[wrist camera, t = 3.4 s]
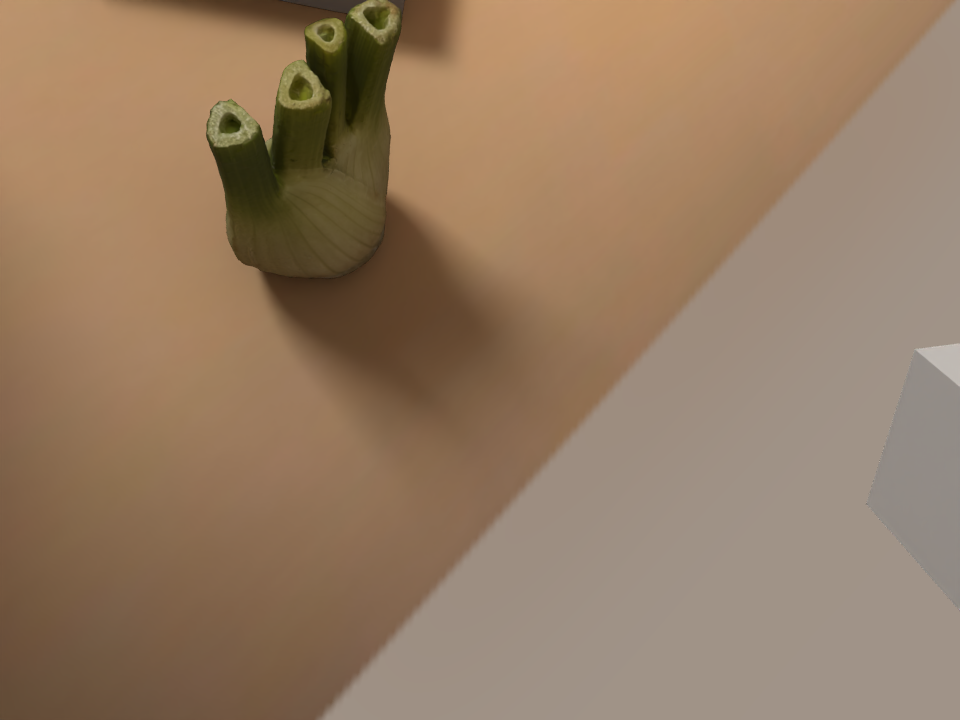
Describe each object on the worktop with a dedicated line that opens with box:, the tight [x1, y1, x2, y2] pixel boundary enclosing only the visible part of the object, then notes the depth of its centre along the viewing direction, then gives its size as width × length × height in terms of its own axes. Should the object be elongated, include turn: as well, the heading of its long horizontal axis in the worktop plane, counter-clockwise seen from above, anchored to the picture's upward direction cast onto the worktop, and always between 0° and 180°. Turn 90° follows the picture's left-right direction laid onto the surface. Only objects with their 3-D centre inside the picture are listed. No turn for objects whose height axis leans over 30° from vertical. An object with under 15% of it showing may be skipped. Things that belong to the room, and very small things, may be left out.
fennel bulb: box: [206, 0, 402, 279], centre depth 27 cm, size 6×5×12 cm
